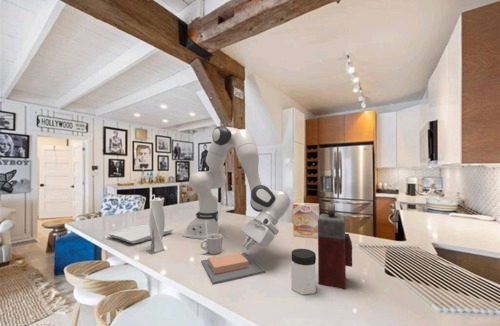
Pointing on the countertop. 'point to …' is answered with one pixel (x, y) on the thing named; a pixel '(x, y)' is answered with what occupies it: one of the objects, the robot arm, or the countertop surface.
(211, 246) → the cup
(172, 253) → the countertop surface
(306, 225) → the coffeecake box
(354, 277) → the countertop surface
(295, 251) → the jar
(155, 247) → the skyscraper
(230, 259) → the peach rectangular block
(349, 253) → the dark red grey-topped box
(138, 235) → the square plate
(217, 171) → the robot arm
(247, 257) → the mat
